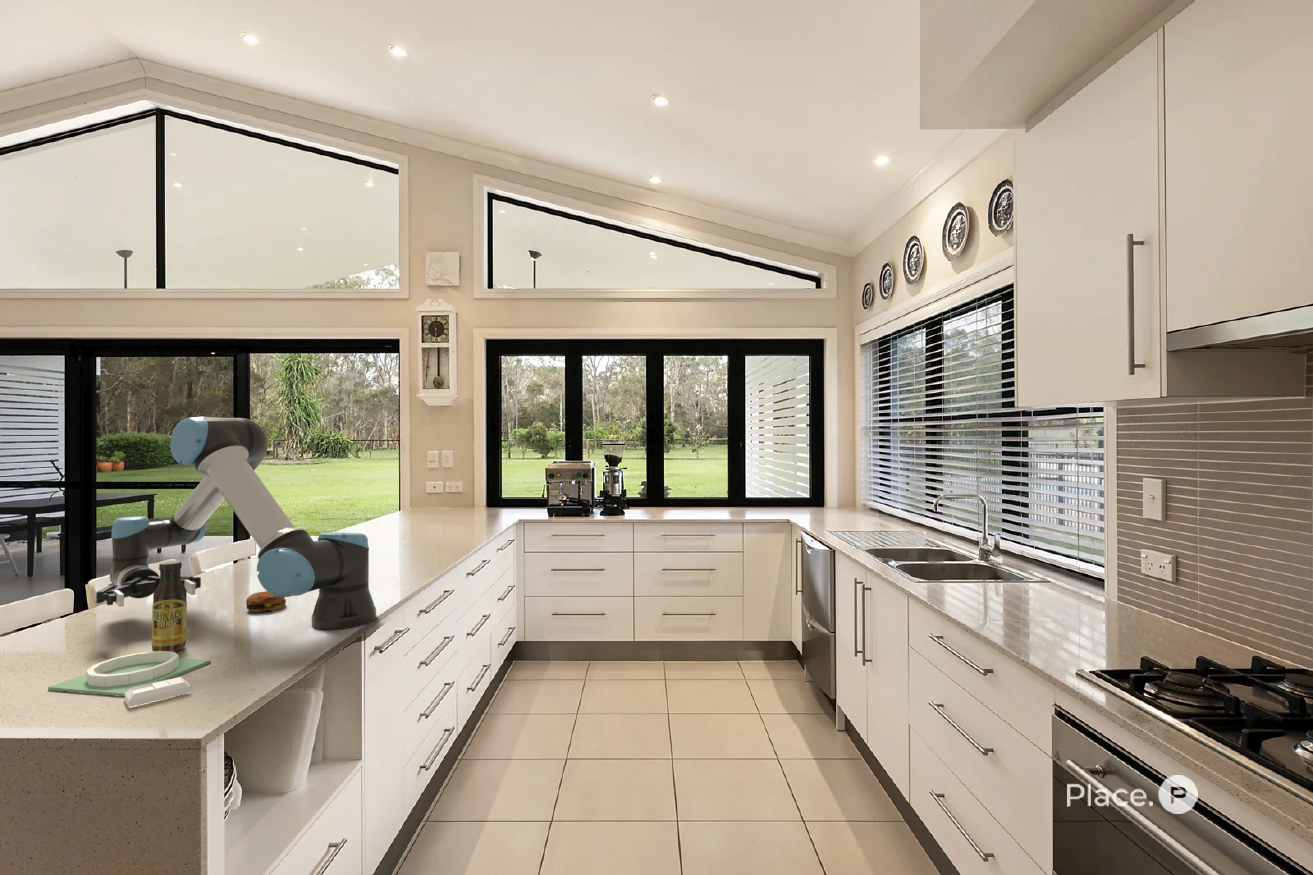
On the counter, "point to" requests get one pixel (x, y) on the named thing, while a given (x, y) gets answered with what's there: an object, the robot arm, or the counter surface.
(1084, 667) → the counter surface
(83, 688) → the putting mat
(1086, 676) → the counter surface
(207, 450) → the robot arm
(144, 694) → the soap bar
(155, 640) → the sauce bottle
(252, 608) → the burger
